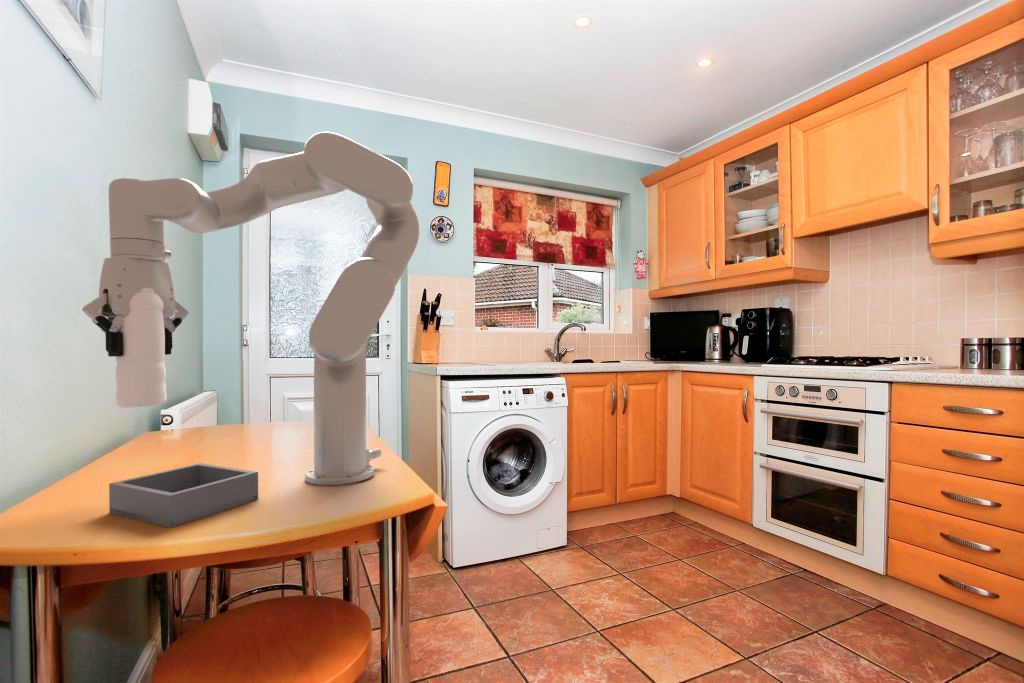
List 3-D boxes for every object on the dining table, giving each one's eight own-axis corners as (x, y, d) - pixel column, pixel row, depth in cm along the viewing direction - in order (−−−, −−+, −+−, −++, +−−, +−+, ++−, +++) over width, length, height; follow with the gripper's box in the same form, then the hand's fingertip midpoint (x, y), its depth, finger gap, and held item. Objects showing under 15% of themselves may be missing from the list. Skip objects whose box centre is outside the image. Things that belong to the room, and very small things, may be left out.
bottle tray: (200, 488, 89) (199, 463, 89) (258, 499, 83) (258, 472, 83) (109, 512, 76) (109, 483, 76) (169, 527, 70) (169, 495, 70)
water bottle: (174, 403, 88) (170, 262, 88) (128, 409, 82) (123, 257, 82) (154, 402, 92) (151, 266, 92) (108, 407, 86) (104, 261, 86)
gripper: (176, 261, 96) (178, 353, 96) (64, 247, 80) (68, 357, 81) (201, 258, 93) (203, 353, 93) (90, 242, 77) (93, 357, 77)
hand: (140, 354), depth 87 cm, fingers closed on water bottle, 7 cm apart
